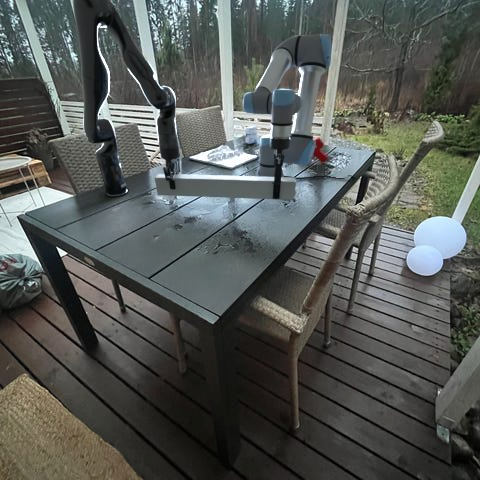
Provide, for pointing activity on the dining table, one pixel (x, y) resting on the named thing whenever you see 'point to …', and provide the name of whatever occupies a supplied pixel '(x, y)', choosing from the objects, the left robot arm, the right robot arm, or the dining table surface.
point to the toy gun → (319, 151)
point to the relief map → (224, 157)
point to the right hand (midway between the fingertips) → (276, 195)
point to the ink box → (251, 134)
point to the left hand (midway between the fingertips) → (175, 186)
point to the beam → (225, 186)
